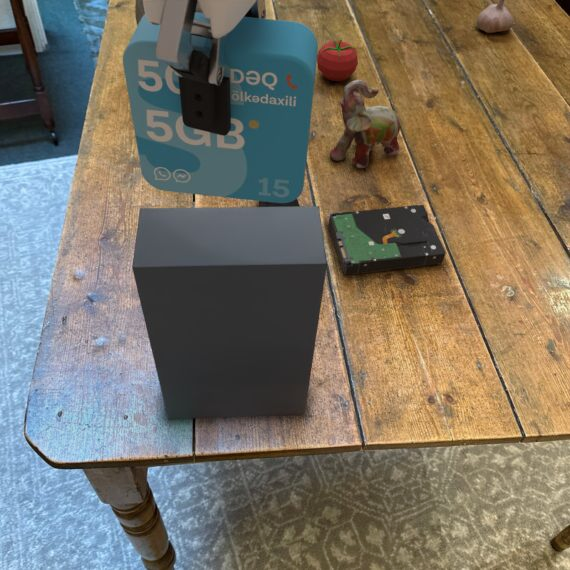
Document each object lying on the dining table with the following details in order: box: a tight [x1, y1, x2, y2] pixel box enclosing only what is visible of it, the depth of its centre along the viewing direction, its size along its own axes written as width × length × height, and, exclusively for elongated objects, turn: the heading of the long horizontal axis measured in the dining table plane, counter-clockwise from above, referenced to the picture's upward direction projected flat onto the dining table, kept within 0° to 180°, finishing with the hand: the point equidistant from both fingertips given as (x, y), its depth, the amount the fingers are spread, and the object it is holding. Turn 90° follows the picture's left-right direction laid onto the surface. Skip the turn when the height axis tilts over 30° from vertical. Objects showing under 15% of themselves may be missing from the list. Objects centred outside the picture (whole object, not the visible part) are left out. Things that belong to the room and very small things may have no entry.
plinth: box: [131, 205, 328, 420], centre depth 62 cm, size 16×7×27 cm, turn 94°
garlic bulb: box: [476, 0, 514, 34], centre depth 128 cm, size 8×7×8 cm
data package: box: [122, 12, 319, 203], centre depth 42 cm, size 12×4×12 cm, turn 84°
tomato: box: [316, 38, 359, 82], centre depth 114 cm, size 8×8×8 cm
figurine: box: [329, 79, 401, 169], centre depth 95 cm, size 8×12×15 cm, turn 91°
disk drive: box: [328, 204, 447, 275], centre depth 88 cm, size 10×3×15 cm
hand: (224, 101), depth 41 cm, fingers closed on data package, 5 cm apart
